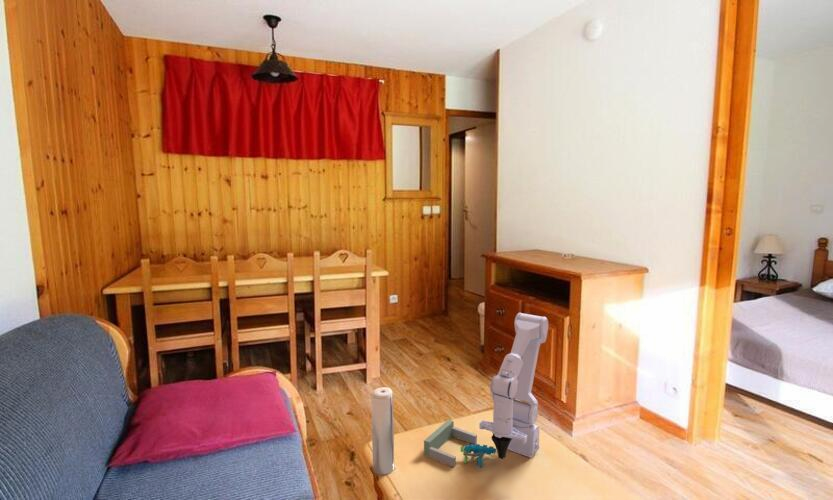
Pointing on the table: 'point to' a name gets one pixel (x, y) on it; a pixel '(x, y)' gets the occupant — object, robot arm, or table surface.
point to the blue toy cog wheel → (477, 452)
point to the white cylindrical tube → (382, 431)
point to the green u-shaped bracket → (441, 437)
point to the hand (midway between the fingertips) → (502, 457)
